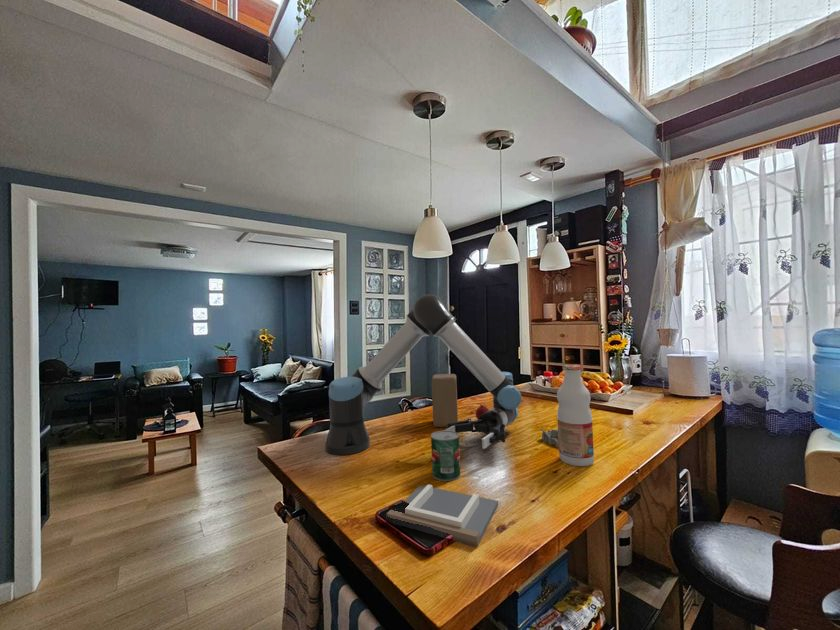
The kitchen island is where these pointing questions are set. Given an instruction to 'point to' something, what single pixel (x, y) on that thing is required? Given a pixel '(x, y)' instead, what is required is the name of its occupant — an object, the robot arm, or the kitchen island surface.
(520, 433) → the kitchen island surface
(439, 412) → the wooden block
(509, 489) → the kitchen island surface
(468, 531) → the board
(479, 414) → the onion
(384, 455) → the kitchen island surface
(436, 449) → the canned tomato
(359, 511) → the kitchen island surface
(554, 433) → the egg carton
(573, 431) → the fruit juice
